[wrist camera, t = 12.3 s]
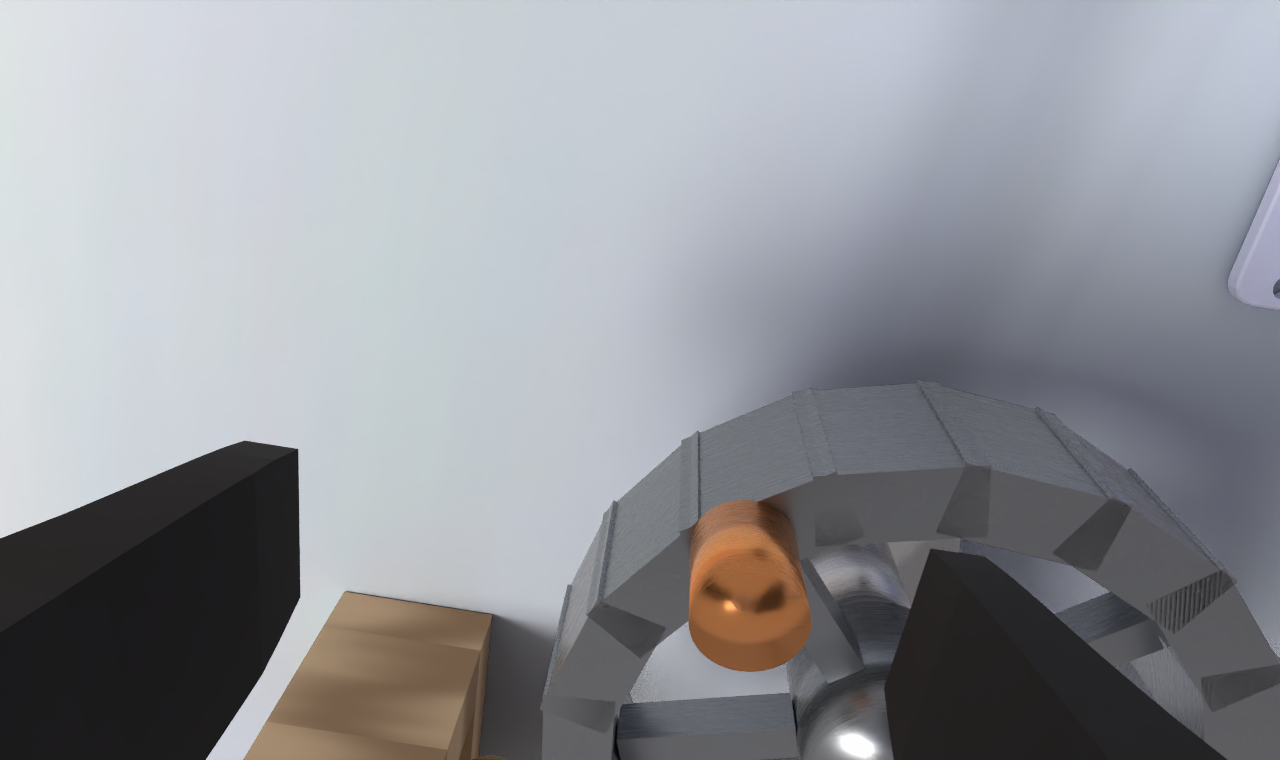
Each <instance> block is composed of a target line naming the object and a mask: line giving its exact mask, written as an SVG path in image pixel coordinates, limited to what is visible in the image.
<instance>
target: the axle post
mask: <svg viewBox="0 0 1280 760" xmlns="http://www.w3.org/2000/svg"><path fill="white" fill-rule="evenodd" d="M960 542H961V538H958V539H940V540H923V541H905V542H887V543H870V544H852V545H841V546H838V547H835V548H832V549H829V550H827V551H824V552H821V553H818V554H816V555H813V556H810V557H808V558H809V559H810V561H811V563H812V564H813V566H814V567H815V569H816V571H817V572H818V574H819V576H820V577H821V579H822V580H823V582H824V584H825V585H826V587H827V588H828V590H829V592H830V593H831V595H832V596H833V598H834V600H835V601H836V603H837V604H838V606H842V605H846V604H850V603H856V602H864V601H879V602H888V603H893V604H898V605H901V606H904V607H907V608H909V609H910V608H911V605H912V602H913V599H914V596H915V593H916V590H917V587H918V584H919V581H920V578H921V575H922V572H923V569H924V566H925V563H926V560H927V557H928V554H929V551H930V548H932V549H938V550H945V551H951V552H957V553H959V551H960Z"/></svg>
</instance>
